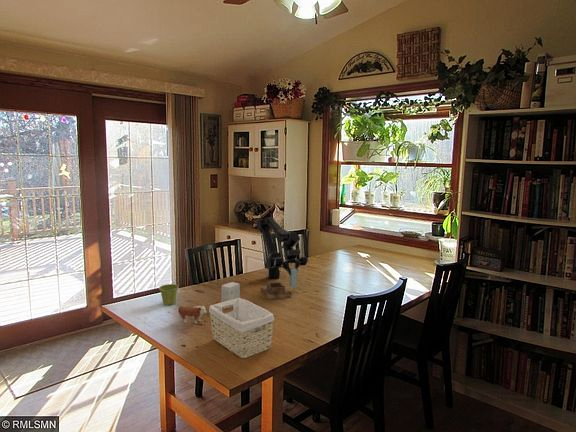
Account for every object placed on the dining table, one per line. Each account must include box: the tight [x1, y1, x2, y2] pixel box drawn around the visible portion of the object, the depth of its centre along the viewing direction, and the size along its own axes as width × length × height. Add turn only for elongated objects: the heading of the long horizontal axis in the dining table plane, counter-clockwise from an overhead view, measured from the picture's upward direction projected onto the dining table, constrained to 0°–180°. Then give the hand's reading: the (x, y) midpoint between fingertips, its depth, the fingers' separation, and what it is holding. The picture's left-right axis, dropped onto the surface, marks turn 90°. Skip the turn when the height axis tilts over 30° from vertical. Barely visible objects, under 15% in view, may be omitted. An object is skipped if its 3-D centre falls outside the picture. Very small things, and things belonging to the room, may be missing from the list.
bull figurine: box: [178, 305, 207, 324], centre depth 180 cm, size 4×13×8 cm, turn 80°
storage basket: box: [208, 297, 275, 359], centre depth 159 cm, size 24×16×15 cm
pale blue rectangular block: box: [289, 267, 298, 289], centre depth 224 cm, size 3×5×10 cm, turn 14°
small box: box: [220, 281, 241, 309], centre depth 203 cm, size 8×6×10 cm
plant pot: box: [158, 283, 179, 306], centre depth 203 cm, size 9×9×9 cm
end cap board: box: [261, 281, 291, 300], centre depth 221 cm, size 12×18×4 cm, turn 14°
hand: (293, 274), depth 223 cm, fingers closed on pale blue rectangular block, 3 cm apart
